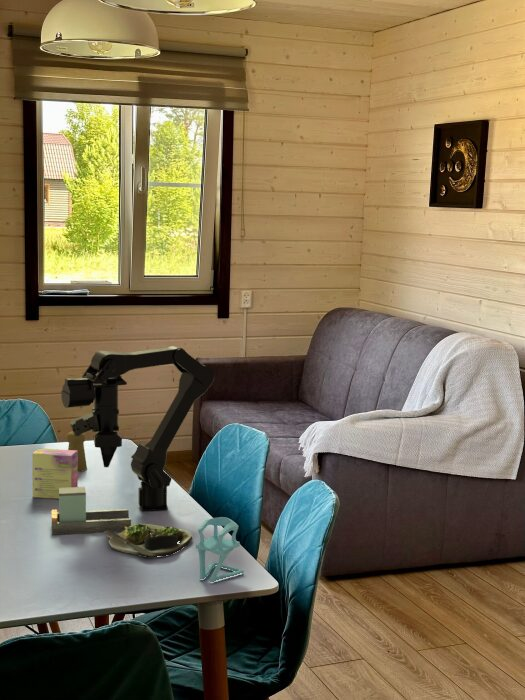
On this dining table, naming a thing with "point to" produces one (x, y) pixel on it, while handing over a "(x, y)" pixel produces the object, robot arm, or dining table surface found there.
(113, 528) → the rail
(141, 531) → the salad plate
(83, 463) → the cork
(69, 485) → the box
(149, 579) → the dining table surface
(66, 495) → the module
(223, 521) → the chair
